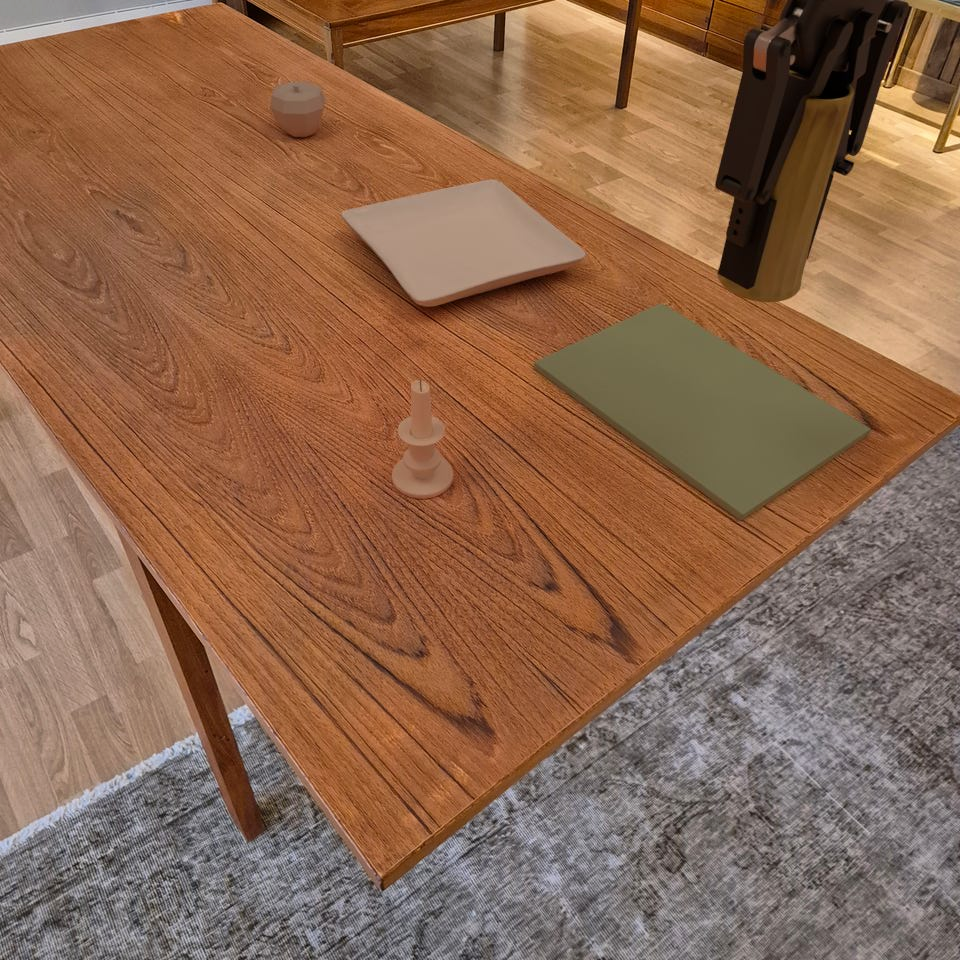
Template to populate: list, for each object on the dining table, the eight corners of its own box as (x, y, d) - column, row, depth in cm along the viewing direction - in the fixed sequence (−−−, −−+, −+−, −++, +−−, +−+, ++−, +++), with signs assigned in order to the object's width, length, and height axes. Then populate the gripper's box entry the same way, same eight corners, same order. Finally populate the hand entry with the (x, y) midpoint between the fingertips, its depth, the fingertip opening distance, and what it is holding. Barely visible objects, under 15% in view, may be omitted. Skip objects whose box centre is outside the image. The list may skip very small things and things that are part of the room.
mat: (868, 435, 81) (871, 428, 81) (740, 521, 73) (742, 514, 72) (659, 308, 96) (661, 302, 95) (533, 368, 87) (534, 361, 87)
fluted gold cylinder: (753, 252, 69) (804, 61, 59) (817, 287, 66) (882, 90, 56) (699, 275, 67) (743, 79, 57) (763, 313, 63) (821, 110, 53)
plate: (588, 279, 100) (592, 251, 97) (418, 328, 92) (417, 300, 89) (494, 200, 113) (495, 174, 110) (339, 237, 105) (336, 210, 103)
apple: (267, 125, 128) (260, 78, 123) (320, 118, 130) (315, 71, 126) (281, 147, 123) (275, 99, 118) (336, 139, 125) (332, 91, 121)
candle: (463, 467, 77) (464, 370, 70) (437, 506, 73) (436, 408, 66) (409, 450, 78) (405, 353, 71) (381, 488, 75) (373, 390, 67)
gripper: (898, -133, 56) (798, 211, 72) (702, -98, 47) (638, 285, 63) (1013, -111, 52) (879, 248, 68) (822, -68, 43) (720, 333, 59)
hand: (763, 265), depth 65 cm, fingers closed on fluted gold cylinder, 6 cm apart
